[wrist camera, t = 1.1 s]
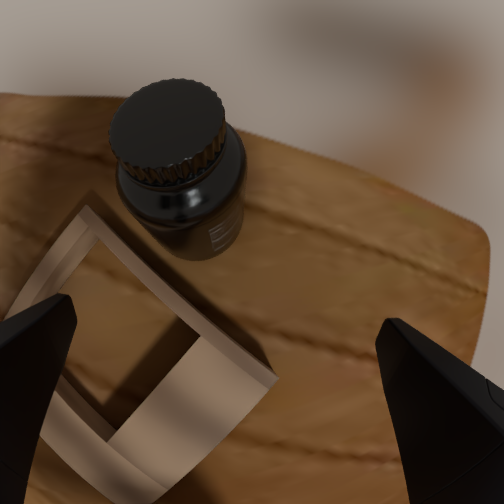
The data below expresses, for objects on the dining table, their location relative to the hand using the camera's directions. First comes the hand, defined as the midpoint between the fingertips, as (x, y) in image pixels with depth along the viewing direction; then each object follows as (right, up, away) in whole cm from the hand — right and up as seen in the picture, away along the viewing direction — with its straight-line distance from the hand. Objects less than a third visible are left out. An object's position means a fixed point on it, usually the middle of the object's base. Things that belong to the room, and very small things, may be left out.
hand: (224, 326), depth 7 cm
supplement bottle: (-3, +4, +15) cm, 16 cm away
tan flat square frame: (-10, -7, +11) cm, 17 cm away
